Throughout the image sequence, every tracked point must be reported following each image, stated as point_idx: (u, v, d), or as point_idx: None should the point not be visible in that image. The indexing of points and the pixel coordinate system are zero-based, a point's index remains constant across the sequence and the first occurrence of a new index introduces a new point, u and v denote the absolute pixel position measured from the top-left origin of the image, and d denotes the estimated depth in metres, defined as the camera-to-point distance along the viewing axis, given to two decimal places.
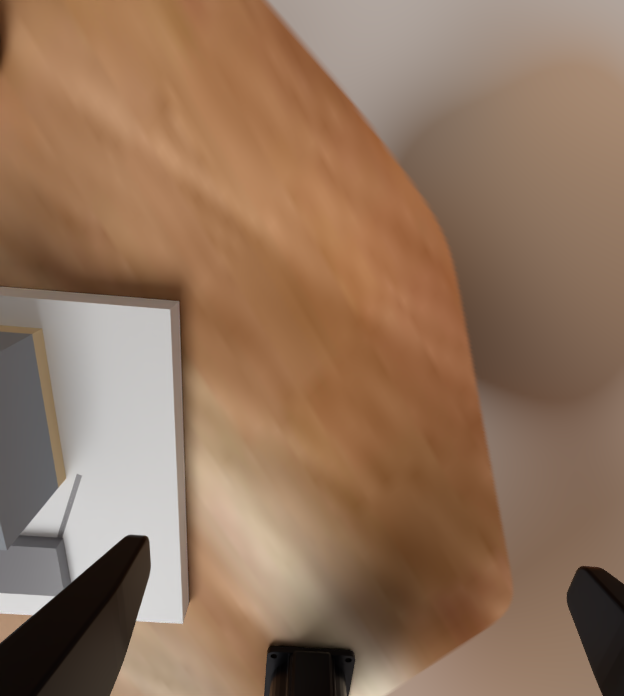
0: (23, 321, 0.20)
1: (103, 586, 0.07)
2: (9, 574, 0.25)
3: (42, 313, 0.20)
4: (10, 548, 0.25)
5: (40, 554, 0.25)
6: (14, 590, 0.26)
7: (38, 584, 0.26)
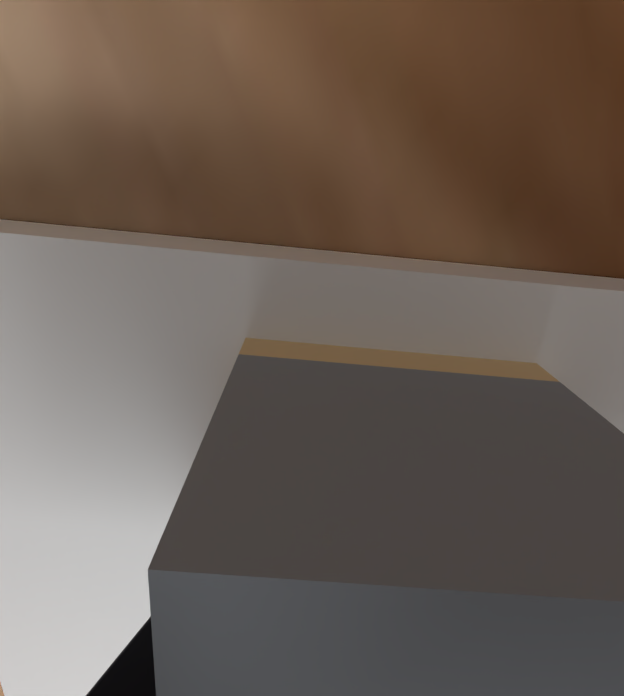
0: (496, 345, 0.08)
1: None
2: None
3: (555, 325, 0.08)
4: None
5: None
6: None
7: None
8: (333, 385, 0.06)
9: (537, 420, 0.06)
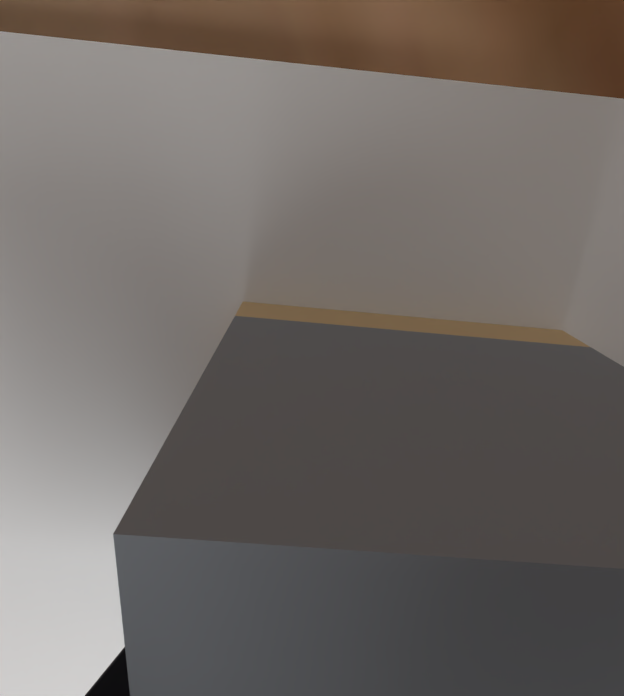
0: (546, 184, 0.06)
1: None
2: None
3: (619, 156, 0.06)
4: None
5: None
6: None
7: None
8: (341, 345, 0.06)
9: (574, 383, 0.05)
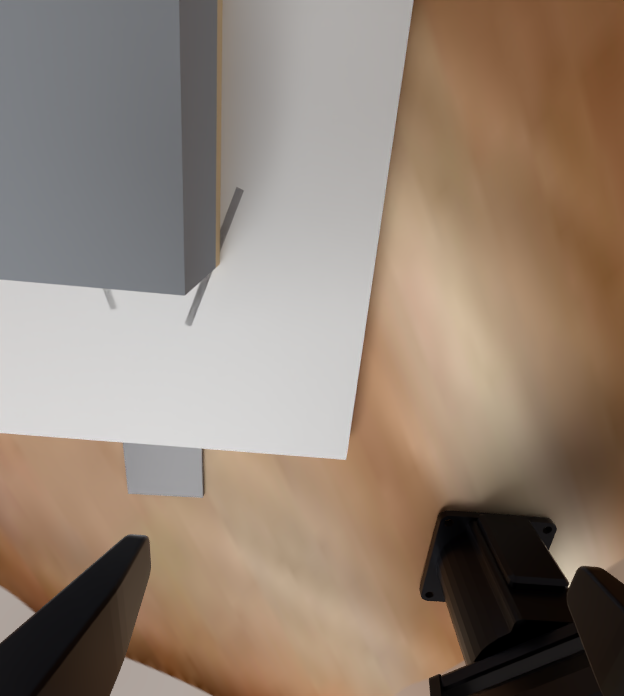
0: None
1: (103, 586, 0.07)
2: (143, 468, 0.22)
3: None
4: None
5: None
6: (146, 489, 0.23)
7: (174, 481, 0.22)
8: None
9: None
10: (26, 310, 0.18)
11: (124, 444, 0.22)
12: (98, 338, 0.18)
